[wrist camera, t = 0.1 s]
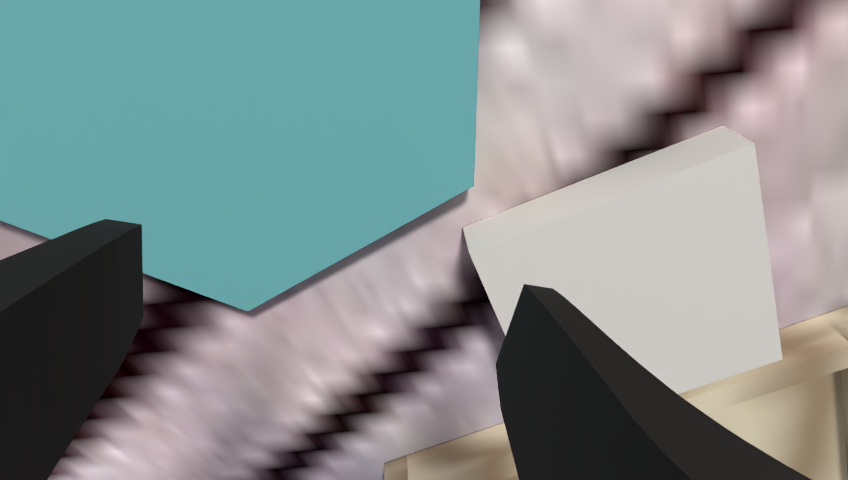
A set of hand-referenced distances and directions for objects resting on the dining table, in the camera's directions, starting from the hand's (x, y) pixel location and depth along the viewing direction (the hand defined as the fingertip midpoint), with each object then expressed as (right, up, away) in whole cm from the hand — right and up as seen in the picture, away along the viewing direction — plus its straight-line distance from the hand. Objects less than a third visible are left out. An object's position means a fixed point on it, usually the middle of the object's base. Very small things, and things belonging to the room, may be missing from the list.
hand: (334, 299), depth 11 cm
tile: (+10, -1, +12) cm, 16 cm away
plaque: (-5, +8, +8) cm, 12 cm away
